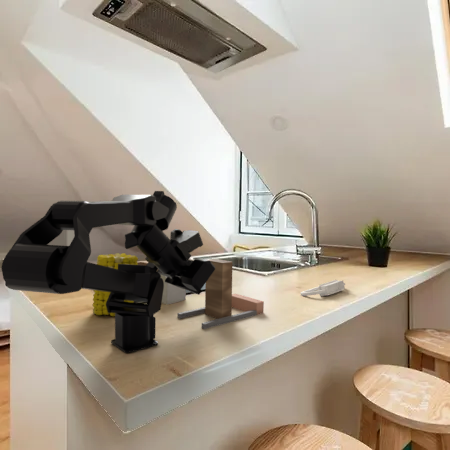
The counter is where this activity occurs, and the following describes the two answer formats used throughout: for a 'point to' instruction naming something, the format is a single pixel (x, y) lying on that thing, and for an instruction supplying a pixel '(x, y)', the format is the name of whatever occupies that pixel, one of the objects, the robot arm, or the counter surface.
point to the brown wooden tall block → (219, 290)
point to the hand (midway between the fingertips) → (199, 292)
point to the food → (113, 262)
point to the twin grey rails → (238, 302)
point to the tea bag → (172, 293)
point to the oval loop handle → (325, 288)
